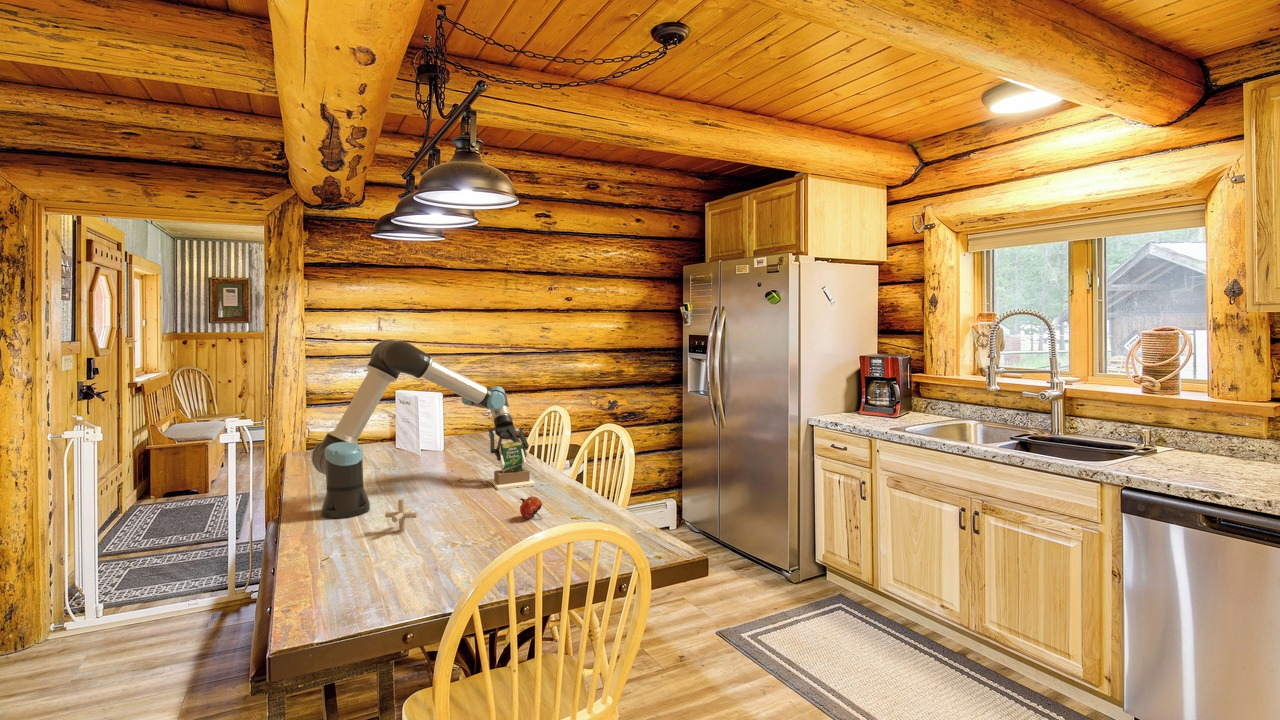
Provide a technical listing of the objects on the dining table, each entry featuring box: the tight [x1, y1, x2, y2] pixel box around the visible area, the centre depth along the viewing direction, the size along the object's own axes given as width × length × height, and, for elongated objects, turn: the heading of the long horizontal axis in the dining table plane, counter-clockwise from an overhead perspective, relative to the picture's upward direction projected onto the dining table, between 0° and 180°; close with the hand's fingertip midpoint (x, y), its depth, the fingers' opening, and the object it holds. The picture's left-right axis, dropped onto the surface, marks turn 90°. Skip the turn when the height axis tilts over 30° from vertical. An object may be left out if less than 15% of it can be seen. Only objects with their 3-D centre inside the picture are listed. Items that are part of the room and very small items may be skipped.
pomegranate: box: [519, 496, 544, 520], centre depth 215 cm, size 7×7×10 cm
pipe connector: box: [384, 497, 419, 532], centre depth 204 cm, size 10×10×10 cm
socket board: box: [488, 467, 537, 491], centre depth 260 cm, size 15×15×5 cm
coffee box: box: [500, 440, 523, 474], centre depth 259 cm, size 8×3×13 cm, turn 118°
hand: (514, 465), depth 257 cm, fingers closed on coffee box, 8 cm apart
